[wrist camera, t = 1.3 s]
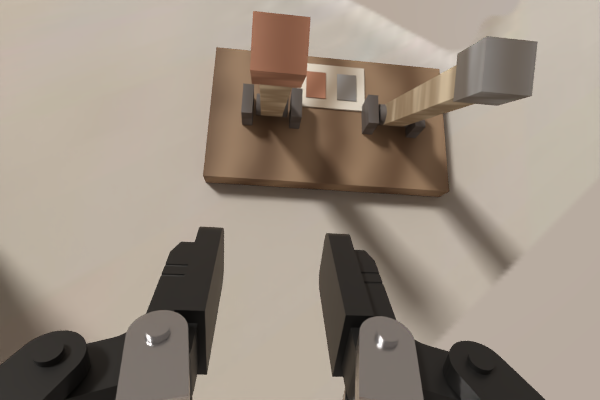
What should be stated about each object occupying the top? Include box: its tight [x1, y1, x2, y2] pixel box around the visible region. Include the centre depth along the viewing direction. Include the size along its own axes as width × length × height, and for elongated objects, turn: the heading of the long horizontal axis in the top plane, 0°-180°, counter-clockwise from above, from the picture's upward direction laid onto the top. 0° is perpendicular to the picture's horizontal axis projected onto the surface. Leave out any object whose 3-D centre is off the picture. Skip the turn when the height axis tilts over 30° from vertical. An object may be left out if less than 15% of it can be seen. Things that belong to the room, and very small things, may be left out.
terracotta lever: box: [250, 11, 310, 117], centre depth 28 cm, size 3×3×19 cm
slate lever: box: [378, 36, 537, 127], centre depth 29 cm, size 3×3×19 cm
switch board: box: [203, 47, 449, 197], centre depth 38 cm, size 24×14×4 cm, turn 88°
